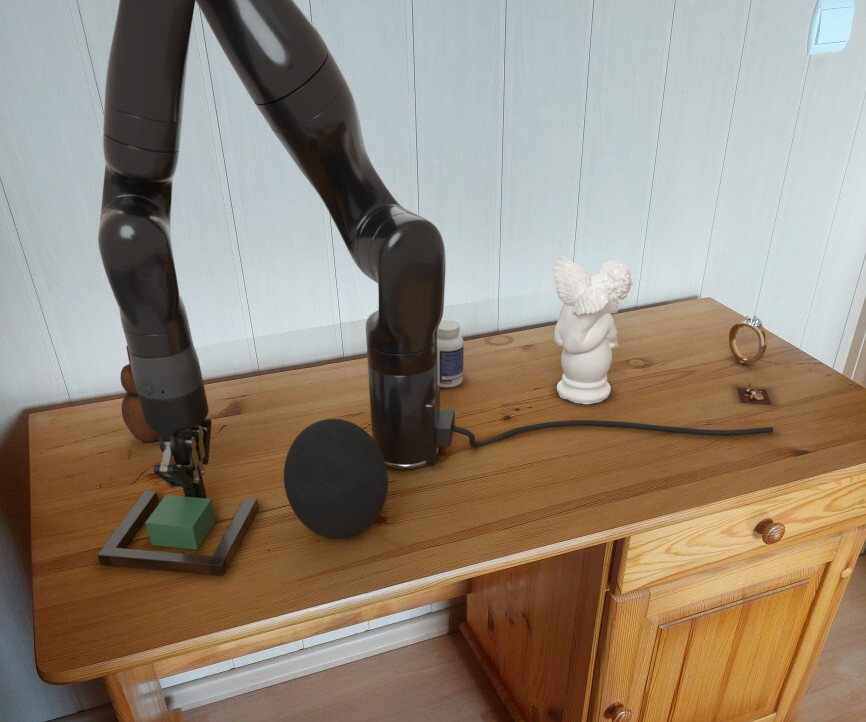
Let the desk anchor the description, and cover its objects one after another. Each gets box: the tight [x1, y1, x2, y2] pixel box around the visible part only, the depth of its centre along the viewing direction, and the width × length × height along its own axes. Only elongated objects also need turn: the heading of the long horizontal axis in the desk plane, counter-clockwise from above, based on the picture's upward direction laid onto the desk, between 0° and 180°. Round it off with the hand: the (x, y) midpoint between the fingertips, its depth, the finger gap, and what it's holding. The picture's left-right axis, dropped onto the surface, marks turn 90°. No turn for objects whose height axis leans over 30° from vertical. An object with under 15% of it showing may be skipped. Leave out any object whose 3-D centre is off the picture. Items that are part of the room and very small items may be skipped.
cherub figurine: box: [552, 254, 633, 405], centre depth 122 cm, size 12×12×22 cm
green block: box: [144, 494, 217, 551], centre depth 101 cm, size 6×6×4 cm
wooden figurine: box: [119, 345, 159, 443], centre depth 116 cm, size 7×6×15 cm
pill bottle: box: [437, 319, 465, 389], centre depth 131 cm, size 5×5×10 cm
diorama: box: [736, 382, 772, 405], centre depth 129 cm, size 3×4×2 cm
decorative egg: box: [283, 418, 389, 540], centre depth 98 cm, size 12×12×15 cm
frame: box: [97, 490, 259, 577], centre depth 101 cm, size 15×14×2 cm
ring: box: [728, 315, 769, 365], centre depth 136 cm, size 7×3×8 cm, turn 26°
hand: (197, 503), depth 105 cm, fingers closed
